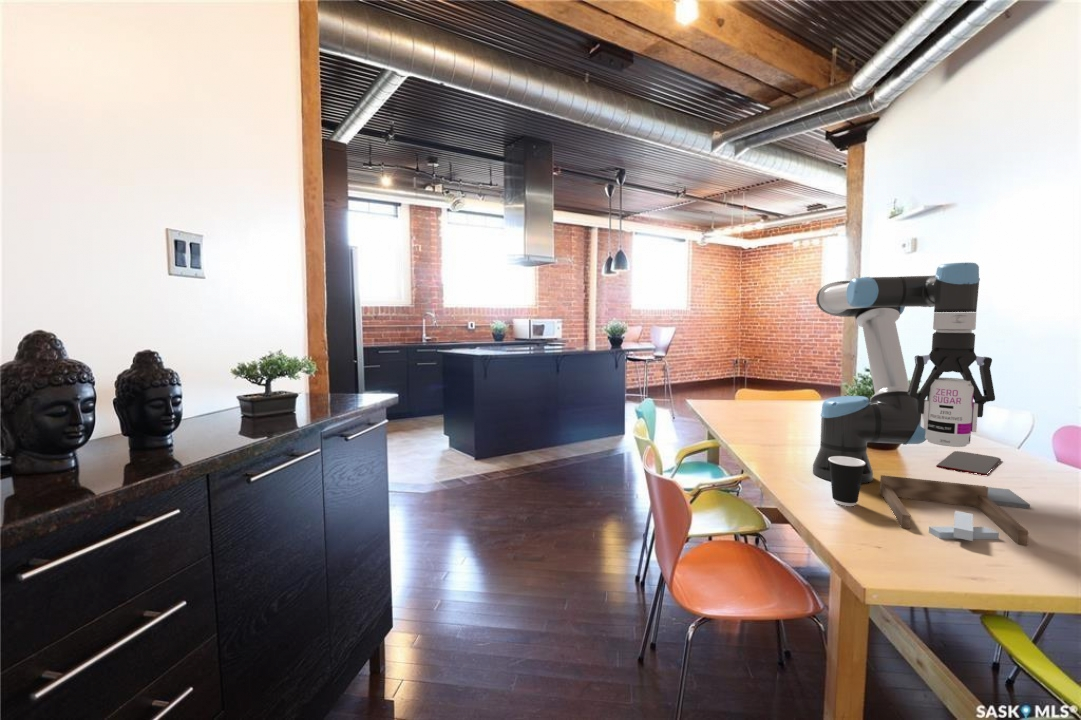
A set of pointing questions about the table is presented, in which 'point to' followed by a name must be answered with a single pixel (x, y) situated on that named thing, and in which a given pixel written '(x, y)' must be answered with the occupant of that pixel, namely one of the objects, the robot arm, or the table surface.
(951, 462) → the smartphone
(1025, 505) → the pad
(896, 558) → the table surface
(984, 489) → the rack
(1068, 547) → the table surface
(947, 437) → the supplement can
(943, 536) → the offcut lower
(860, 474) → the dixie cup
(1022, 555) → the table surface
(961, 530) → the offcut upper
